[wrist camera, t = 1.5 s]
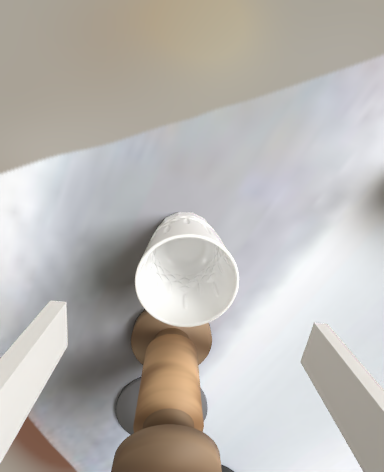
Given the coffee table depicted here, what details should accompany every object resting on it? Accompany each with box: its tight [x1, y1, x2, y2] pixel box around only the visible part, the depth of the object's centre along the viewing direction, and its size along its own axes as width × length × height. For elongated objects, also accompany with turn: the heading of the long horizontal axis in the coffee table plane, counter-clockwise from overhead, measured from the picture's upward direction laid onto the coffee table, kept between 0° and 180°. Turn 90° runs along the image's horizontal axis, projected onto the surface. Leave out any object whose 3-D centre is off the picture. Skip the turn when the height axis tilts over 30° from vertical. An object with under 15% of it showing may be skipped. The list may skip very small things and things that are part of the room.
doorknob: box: [111, 310, 222, 472], centre depth 25 cm, size 10×10×15 cm
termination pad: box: [116, 377, 207, 435], centre depth 36 cm, size 13×13×1 cm
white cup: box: [135, 212, 239, 327], centre depth 23 cm, size 8×8×10 cm
